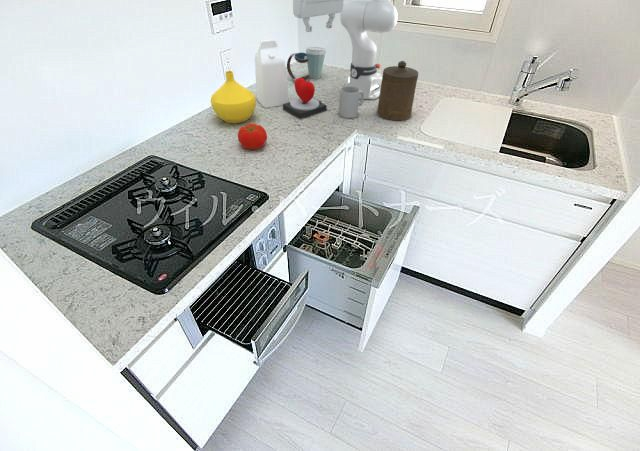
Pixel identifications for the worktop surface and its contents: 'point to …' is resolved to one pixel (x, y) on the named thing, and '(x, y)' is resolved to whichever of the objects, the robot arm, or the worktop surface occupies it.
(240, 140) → the tomato
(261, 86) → the milk
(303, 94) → the heart
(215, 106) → the vase
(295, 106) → the scale
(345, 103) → the mug
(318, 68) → the disposable coffee cup
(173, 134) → the worktop surface
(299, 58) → the headphones
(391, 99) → the wooden container
